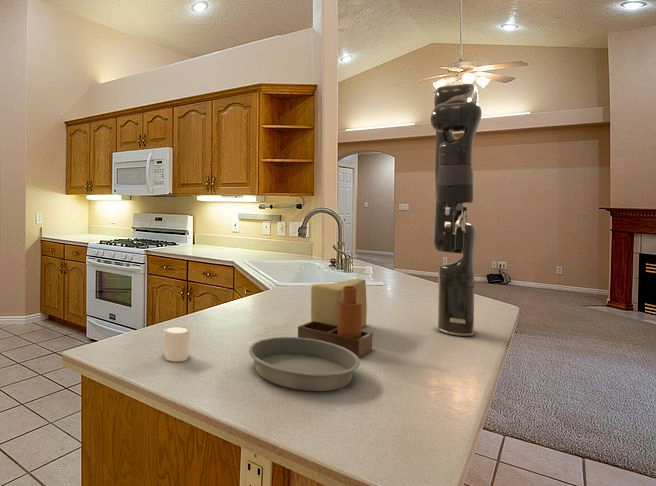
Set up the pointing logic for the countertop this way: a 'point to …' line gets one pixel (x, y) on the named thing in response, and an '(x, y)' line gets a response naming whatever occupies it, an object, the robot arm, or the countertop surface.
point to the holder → (336, 337)
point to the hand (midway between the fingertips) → (454, 248)
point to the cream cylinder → (176, 343)
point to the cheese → (335, 300)
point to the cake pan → (304, 363)
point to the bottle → (349, 314)
